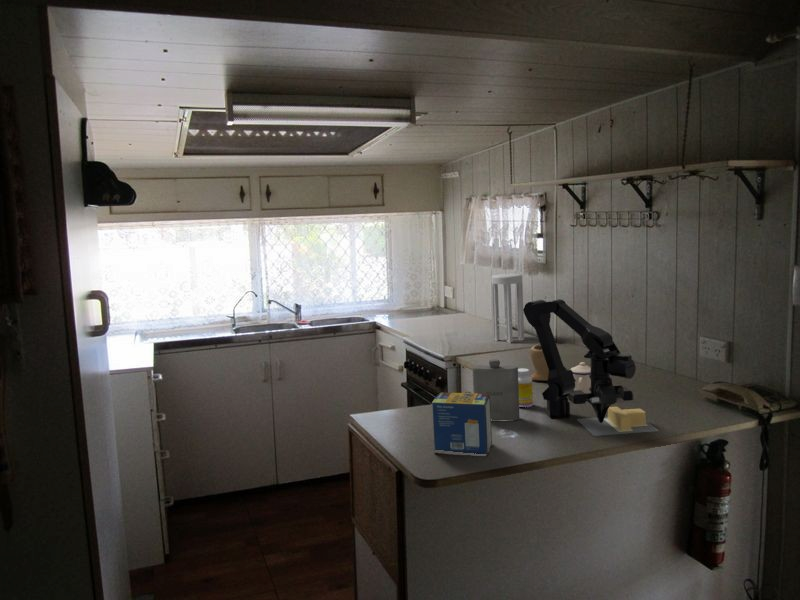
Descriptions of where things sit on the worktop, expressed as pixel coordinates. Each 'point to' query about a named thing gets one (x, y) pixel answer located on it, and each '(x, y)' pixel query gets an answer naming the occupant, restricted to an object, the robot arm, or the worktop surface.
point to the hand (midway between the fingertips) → (600, 422)
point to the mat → (611, 427)
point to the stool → (507, 306)
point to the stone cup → (539, 364)
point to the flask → (498, 388)
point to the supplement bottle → (525, 388)
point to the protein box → (462, 422)
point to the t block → (626, 417)
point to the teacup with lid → (582, 377)
